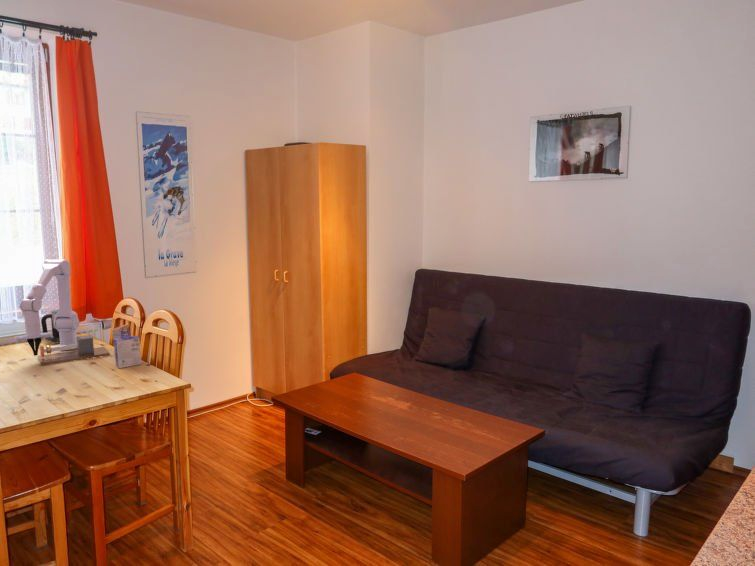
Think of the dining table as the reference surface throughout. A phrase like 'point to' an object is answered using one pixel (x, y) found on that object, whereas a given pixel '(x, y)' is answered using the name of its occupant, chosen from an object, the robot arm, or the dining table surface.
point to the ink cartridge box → (127, 350)
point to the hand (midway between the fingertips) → (35, 355)
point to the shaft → (56, 348)
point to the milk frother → (54, 331)
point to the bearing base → (76, 352)
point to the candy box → (120, 330)
